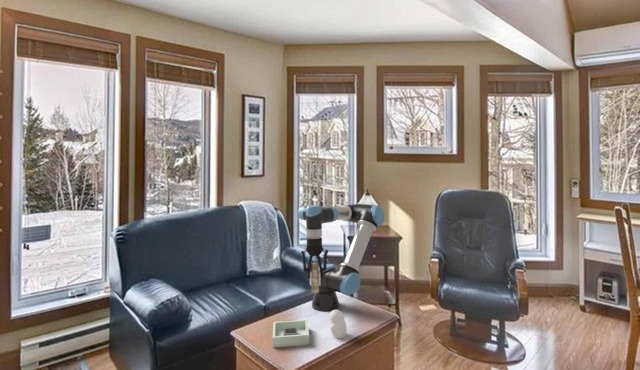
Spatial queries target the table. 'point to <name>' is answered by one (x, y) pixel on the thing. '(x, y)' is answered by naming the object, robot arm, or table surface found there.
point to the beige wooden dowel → (315, 277)
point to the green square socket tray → (290, 333)
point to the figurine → (337, 324)
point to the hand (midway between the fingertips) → (315, 284)
